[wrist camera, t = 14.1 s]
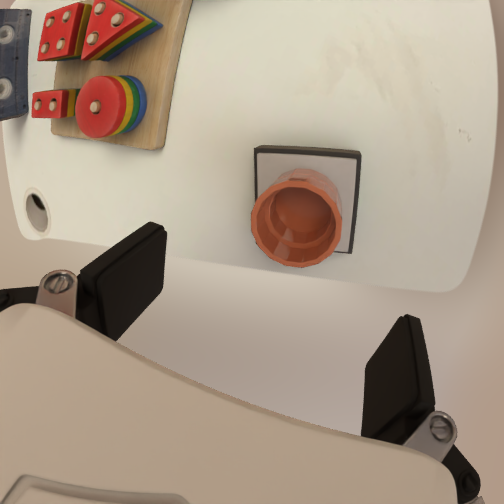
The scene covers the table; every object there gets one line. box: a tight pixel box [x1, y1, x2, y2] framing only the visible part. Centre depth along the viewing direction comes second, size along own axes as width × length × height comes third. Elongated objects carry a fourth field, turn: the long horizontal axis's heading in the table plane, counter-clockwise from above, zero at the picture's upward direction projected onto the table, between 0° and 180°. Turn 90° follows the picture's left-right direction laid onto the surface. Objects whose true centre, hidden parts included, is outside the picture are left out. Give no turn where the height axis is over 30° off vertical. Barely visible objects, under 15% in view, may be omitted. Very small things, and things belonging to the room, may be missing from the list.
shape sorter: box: [32, 0, 192, 150], centre depth 22 cm, size 18×17×6 cm
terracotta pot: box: [251, 168, 342, 268], centre depth 21 cm, size 6×6×5 cm
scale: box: [254, 145, 361, 254], centre depth 25 cm, size 9×9×3 cm
